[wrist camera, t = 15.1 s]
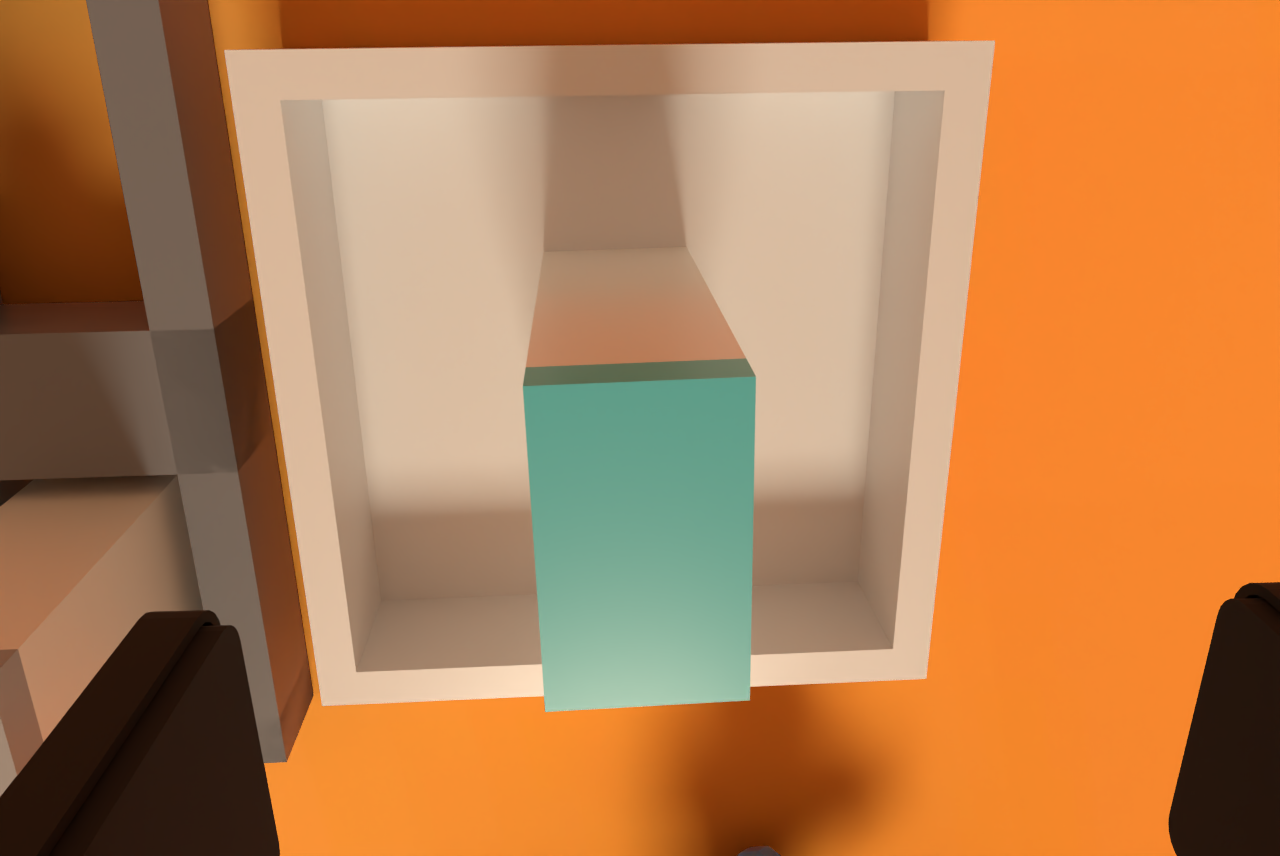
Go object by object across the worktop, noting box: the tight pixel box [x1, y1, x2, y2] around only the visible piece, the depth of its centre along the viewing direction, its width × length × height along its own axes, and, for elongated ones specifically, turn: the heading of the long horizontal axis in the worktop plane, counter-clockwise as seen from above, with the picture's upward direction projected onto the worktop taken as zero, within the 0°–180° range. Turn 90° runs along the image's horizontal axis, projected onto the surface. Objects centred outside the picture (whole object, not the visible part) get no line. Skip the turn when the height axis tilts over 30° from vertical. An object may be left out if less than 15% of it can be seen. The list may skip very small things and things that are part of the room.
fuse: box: [0, 475, 203, 796], centre depth 20 cm, size 5×3×9 cm, turn 1°
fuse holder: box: [0, 0, 313, 763], centre depth 21 cm, size 17×6×2 cm, turn 1°
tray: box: [224, 41, 995, 706], centre depth 21 cm, size 13×13×4 cm
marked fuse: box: [523, 247, 756, 712], centre depth 18 cm, size 5×3×9 cm, turn 1°
